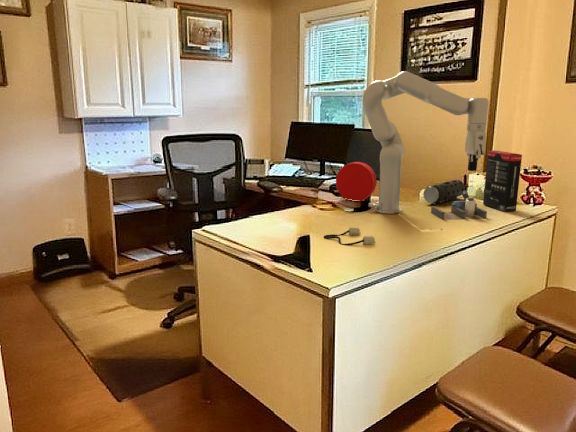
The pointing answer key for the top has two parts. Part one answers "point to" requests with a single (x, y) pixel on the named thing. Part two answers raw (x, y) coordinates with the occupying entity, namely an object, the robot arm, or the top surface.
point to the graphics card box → (502, 180)
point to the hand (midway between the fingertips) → (472, 170)
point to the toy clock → (356, 181)
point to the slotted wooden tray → (458, 212)
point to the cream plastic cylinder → (470, 207)
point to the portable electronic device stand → (465, 195)
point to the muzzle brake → (443, 191)
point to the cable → (353, 231)
